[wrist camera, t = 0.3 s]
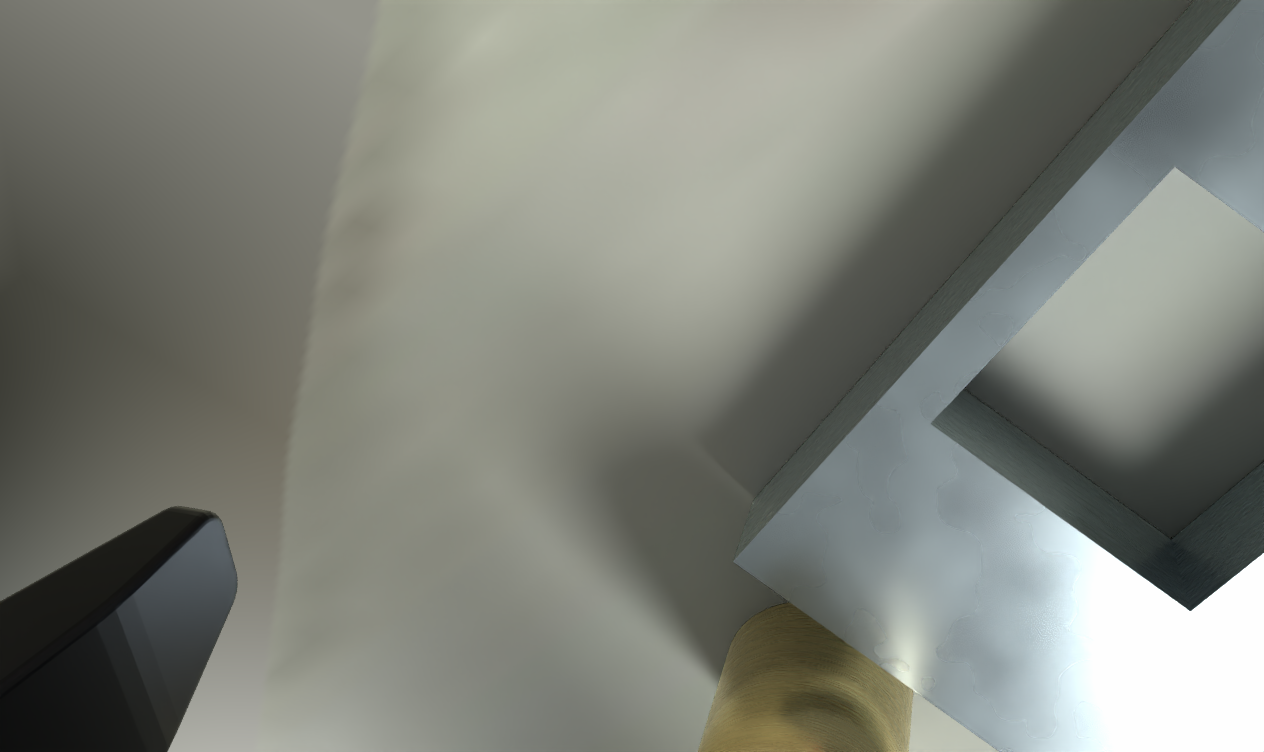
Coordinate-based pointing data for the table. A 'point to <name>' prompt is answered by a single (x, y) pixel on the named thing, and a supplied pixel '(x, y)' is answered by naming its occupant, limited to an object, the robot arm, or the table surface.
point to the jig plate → (1041, 469)
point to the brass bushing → (803, 692)
